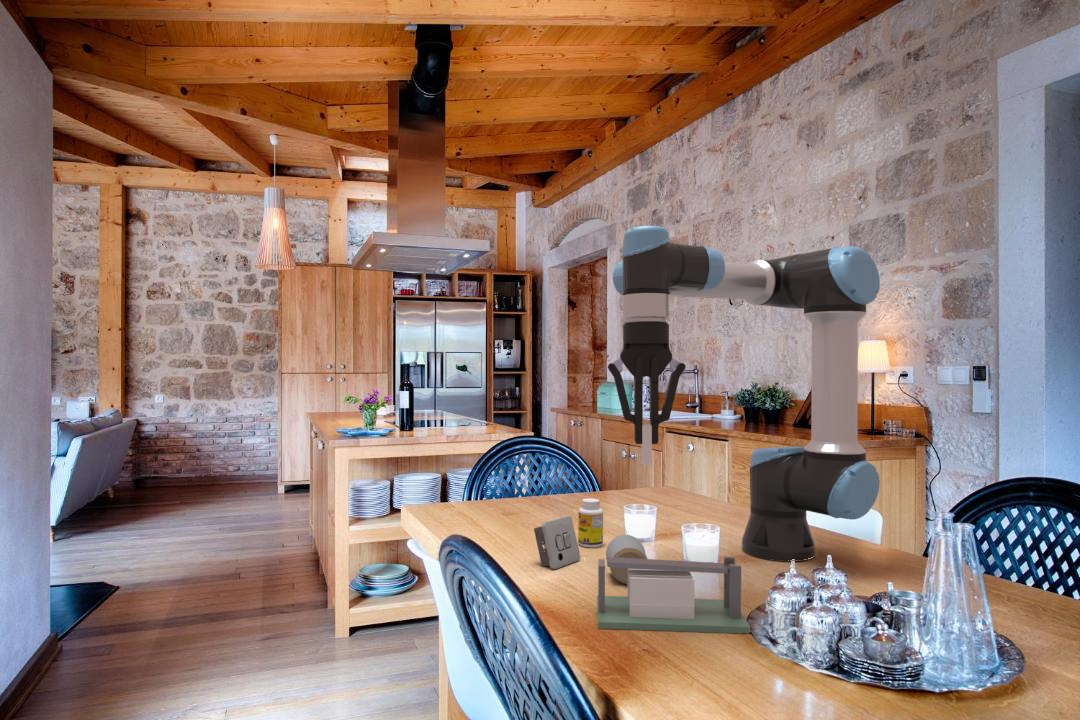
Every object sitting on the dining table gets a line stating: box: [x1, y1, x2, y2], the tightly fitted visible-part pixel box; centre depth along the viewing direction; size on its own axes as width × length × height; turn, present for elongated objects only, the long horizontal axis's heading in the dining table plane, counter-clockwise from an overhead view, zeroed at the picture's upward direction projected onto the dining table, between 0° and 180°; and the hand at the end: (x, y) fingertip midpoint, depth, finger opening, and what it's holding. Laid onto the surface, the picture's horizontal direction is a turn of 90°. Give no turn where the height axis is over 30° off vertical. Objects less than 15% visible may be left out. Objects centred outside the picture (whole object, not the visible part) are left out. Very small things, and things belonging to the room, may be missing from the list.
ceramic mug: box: [605, 534, 648, 585], centre depth 128 cm, size 11×8×8 cm
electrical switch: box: [533, 515, 581, 570], centre depth 138 cm, size 9×5×9 cm, turn 141°
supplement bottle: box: [577, 497, 604, 549], centre depth 152 cm, size 6×6×10 cm
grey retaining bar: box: [606, 557, 736, 575], centre depth 109 cm, size 21×3×2 cm, turn 86°
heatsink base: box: [596, 556, 751, 635], centre depth 109 cm, size 23×12×9 cm, turn 86°
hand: (646, 463), depth 111 cm, fingers closed
